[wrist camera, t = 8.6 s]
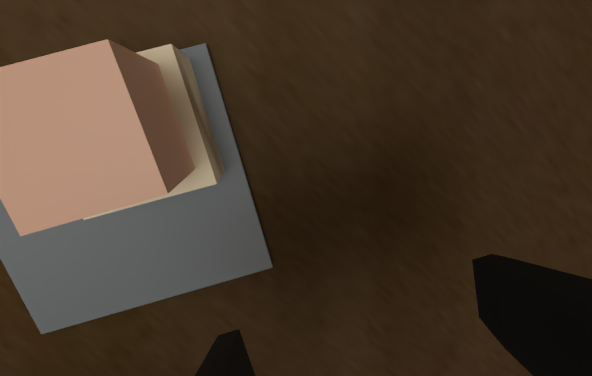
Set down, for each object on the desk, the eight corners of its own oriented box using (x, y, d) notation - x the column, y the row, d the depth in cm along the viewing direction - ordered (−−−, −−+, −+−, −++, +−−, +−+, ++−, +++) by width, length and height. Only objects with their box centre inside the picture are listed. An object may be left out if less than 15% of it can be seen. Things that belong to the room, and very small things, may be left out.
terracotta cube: (195, 168, 14) (168, 193, 10) (94, 197, 14) (20, 236, 10) (157, 63, 13) (107, 39, 9) (47, 93, 13) (-62, 83, 8)
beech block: (224, 170, 18) (216, 183, 14) (117, 199, 17) (83, 220, 14) (189, 58, 16) (171, 43, 13) (71, 87, 16) (20, 80, 13)
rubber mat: (272, 263, 20) (272, 267, 19) (46, 328, 19) (41, 334, 19) (206, 45, 17) (205, 43, 16) (-69, 113, 16) (-79, 113, 15)
